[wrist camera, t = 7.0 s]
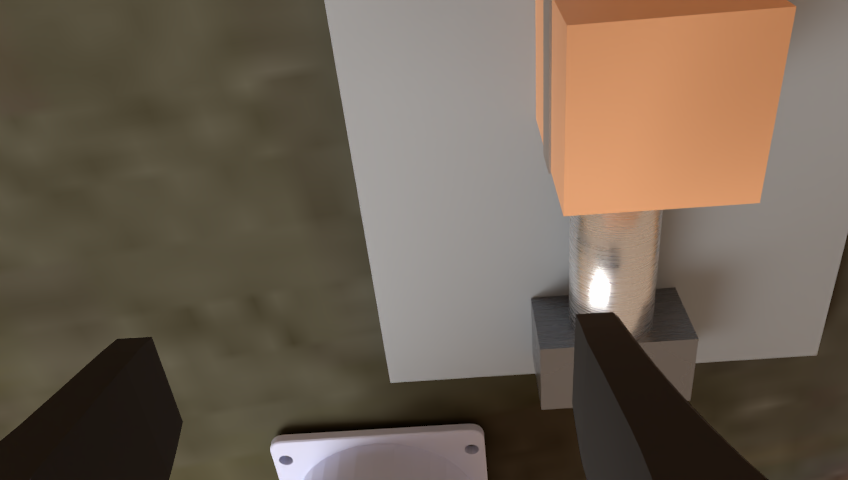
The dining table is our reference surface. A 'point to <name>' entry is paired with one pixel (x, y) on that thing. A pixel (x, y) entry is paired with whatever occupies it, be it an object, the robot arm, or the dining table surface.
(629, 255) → the input shaft
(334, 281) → the dining table surface
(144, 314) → the dining table surface
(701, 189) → the taped shipping carton
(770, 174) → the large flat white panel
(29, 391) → the dining table surface
